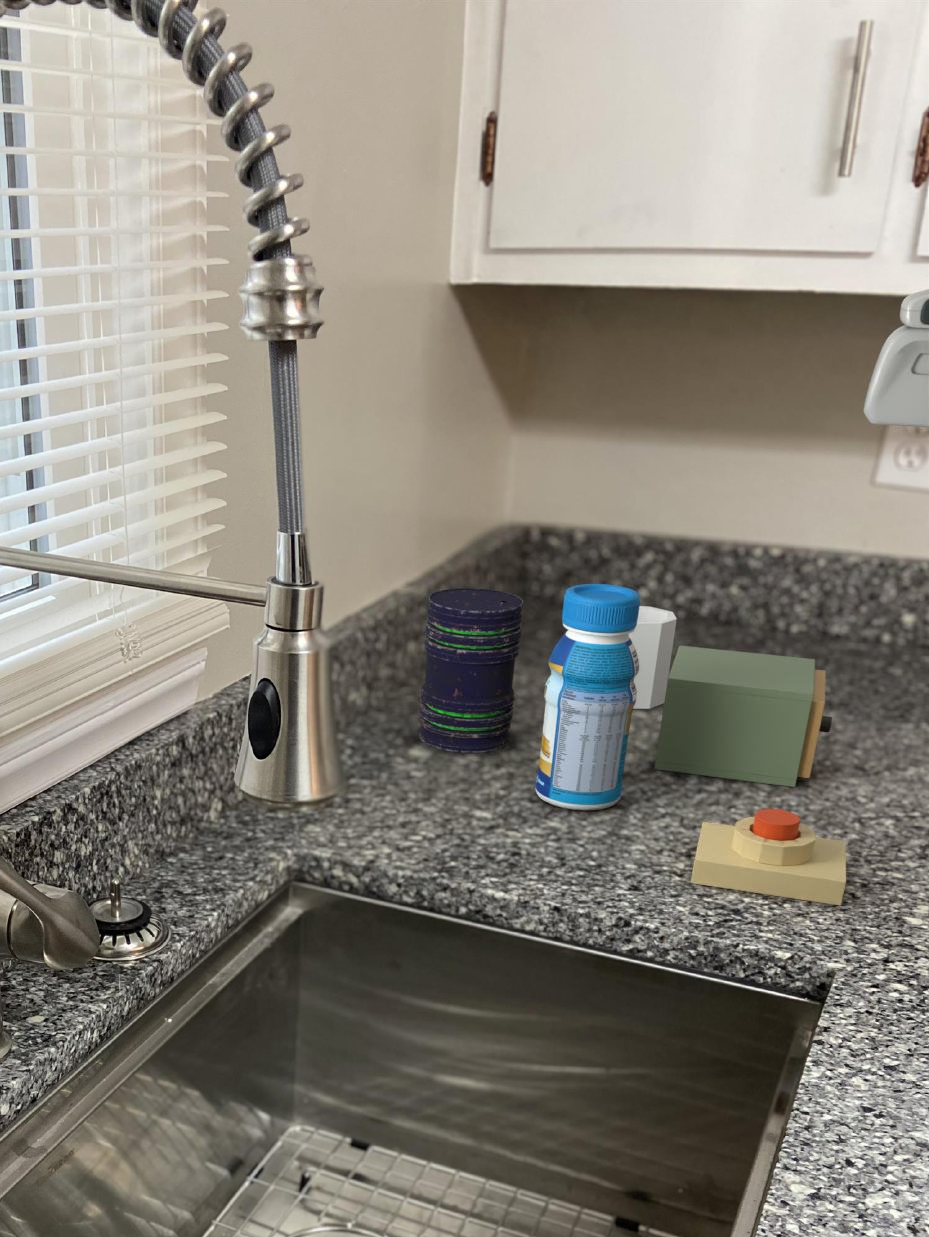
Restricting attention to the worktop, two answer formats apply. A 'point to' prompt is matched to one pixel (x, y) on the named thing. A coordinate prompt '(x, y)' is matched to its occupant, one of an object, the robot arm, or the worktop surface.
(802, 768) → the drawer
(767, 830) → the button
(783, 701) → the cabinet
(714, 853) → the control block
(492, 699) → the storage jar
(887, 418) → the robot arm
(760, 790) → the worktop surface
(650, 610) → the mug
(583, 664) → the beverage bottle
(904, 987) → the worktop surface
